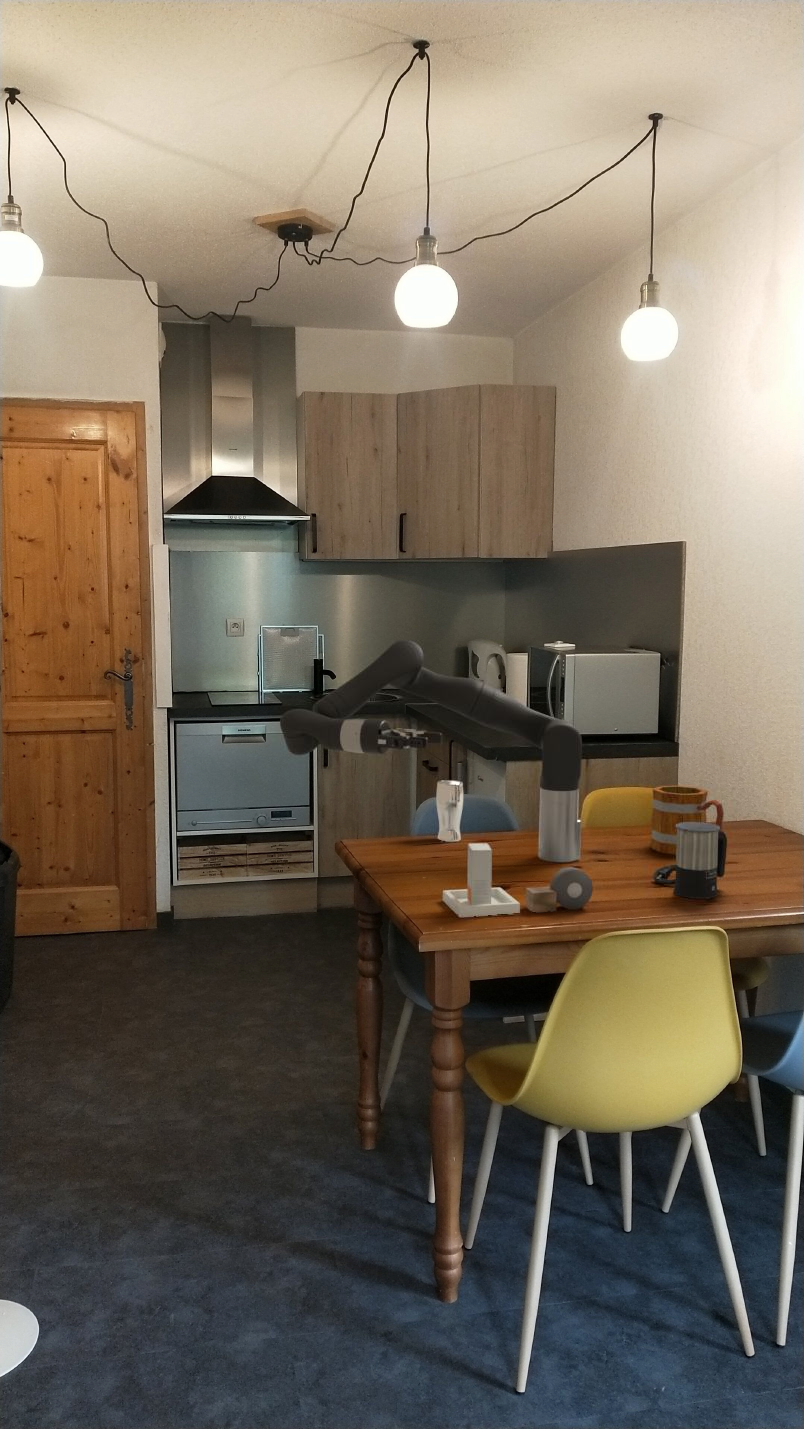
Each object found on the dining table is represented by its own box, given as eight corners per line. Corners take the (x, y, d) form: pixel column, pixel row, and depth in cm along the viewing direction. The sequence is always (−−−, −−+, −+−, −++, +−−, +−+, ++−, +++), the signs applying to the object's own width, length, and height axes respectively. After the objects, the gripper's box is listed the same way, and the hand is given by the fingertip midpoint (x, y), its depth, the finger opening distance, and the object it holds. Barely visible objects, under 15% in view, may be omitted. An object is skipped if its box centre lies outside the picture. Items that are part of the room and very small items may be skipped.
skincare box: (466, 900, 225) (467, 843, 224) (487, 900, 226) (488, 843, 224) (470, 908, 219) (471, 849, 218) (491, 908, 220) (492, 849, 218)
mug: (639, 847, 278) (641, 788, 276) (673, 840, 286) (675, 783, 284) (702, 862, 262) (705, 800, 261) (737, 855, 270) (740, 795, 269)
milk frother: (709, 902, 228) (712, 832, 226) (637, 890, 237) (639, 823, 235) (729, 887, 240) (732, 820, 238) (660, 877, 248) (662, 812, 247)
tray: (499, 897, 230) (499, 887, 230) (519, 913, 218) (519, 903, 218) (442, 900, 227) (442, 890, 227) (459, 917, 215) (460, 907, 215)
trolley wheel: (585, 903, 226) (586, 865, 225) (592, 908, 222) (593, 870, 222) (549, 906, 224) (550, 867, 223) (555, 910, 221) (556, 872, 220)
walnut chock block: (548, 905, 224) (549, 886, 224) (556, 911, 220) (556, 891, 220) (525, 907, 223) (526, 887, 223) (532, 912, 219) (533, 893, 219)
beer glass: (465, 837, 287) (466, 781, 285) (458, 843, 280) (459, 785, 278) (440, 835, 289) (441, 779, 287) (432, 841, 282) (433, 783, 281)
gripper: (351, 722, 234) (422, 726, 228) (378, 716, 247) (446, 719, 241) (351, 757, 234) (422, 762, 228) (378, 749, 248) (445, 753, 241)
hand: (434, 740), depth 234 cm, fingers open, 8 cm apart
